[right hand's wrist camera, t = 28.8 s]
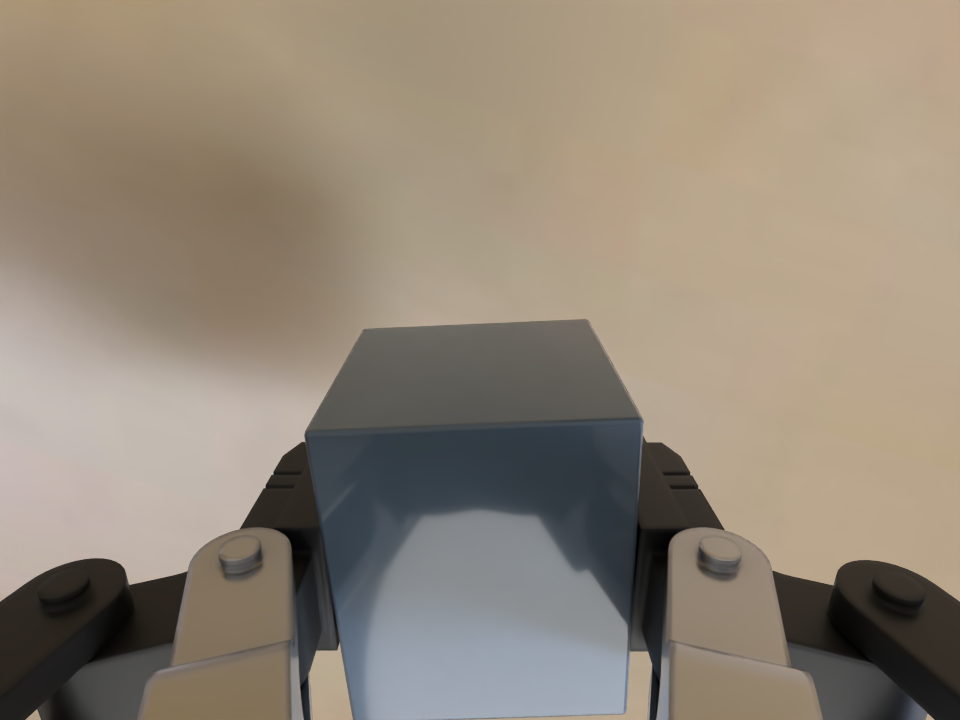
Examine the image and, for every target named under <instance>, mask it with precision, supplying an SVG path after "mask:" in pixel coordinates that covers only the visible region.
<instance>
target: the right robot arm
mask: <svg viewBox="0 0 960 720" xmlns="http://www.w3.org/2000/svg"><path fill="white" fill-rule="evenodd" d="M339 642H340V641H339V635H338V629H337V624H336V618H335V612H334V606H333V600H332V594H331V589H330V582H329V577H328V571H327V565H326V559H325V553H324V547H323V541H322V536H321V530H320V524H319V519H318V513H317V507H316V501H315V495H314V489H313V484H312V478H311V472H310V466H309V460H308V454H307V449H306V443H305V442H301V443H300V444H299V445H297V446H296V447H295V448H293V449H292V450H290V451H289V452H288V453H286V454H285V455H284V456H283V457H282V458H281V460H280V462H279V464H278V465H277V467H276V469H275V470H274V474H273V475H271V477H270V479H269V480H268V482H267V484H266V488H265V489H263V491H262V492H261V494H260V496H259V497H258V499H257V501H256V502H255V504H254V506H253V508H252V509H251V511H250V513H249V514H248V516H247V518H246V519H245V521H244V523H243V524H242V526H241V528H240V530H235V531H232V532H229V533H226V534H224V535H221V536H219V537H217V538H215V539H213V540H212V541H210V542H209V543H207V544H206V545H204V546H203V547H202V548H201V549H200V550H199V551H198V552H197V553H196V554H195V555H194V557H193V558H192V560H191V562H190V565H189V568H188V571H187V572H184V573H181V574H177V575H173V576H169V577H165V578H160V579H155V580H151V581H146V582H142V583H137V584H132V585H129V583H128V579H127V576H126V572H125V570H124V568H123V567H122V566H121V565H120V564H119V563H117V562H115V561H112V560H109V559H97V558H94V559H84V560H79V561H74V562H70V563H67V564H64V565H61V566H58V567H55V568H53V569H51V570H49V571H46V572H44V573H42V574H41V575H39V576H37V577H35V578H34V579H32V580H31V581H29V582H27V583H26V584H25V585H23V586H22V587H20V588H19V589H18V590H16V591H15V592H13V593H12V594H11V595H9V596H8V597H6V598H5V599H3V600H2V601H1V602H0V720H25V719H26V718H28V717H29V716H30V715H31V714H32V713H33V712H34V711H35V710H36V709H37V710H38V712H39V715H40V718H41V720H313V718H312V700H311V685H310V678H309V671H310V669H311V665H312V662H313V659H314V656H315V652H316V650H337V649H338V645H339ZM630 651H648V652H649V655H650V659H651V662H652V671H651V678H650V685H649V700H648V718H647V720H925V719H926V716H927V714H929V715H930V716H931V717H932V718H934V719H935V720H960V602H959V601H958V600H957V599H955V598H954V597H952V596H951V595H949V594H948V593H947V592H945V591H944V590H942V589H941V588H940V587H938V586H937V585H935V584H934V583H932V582H931V581H929V580H928V579H926V578H924V577H922V576H920V575H919V574H917V573H914V572H912V571H910V570H908V569H905V568H902V567H899V566H896V565H893V564H889V563H885V562H880V561H871V560H858V561H852V562H849V563H846V564H845V565H843V566H842V567H841V568H840V569H839V570H838V572H837V575H836V578H835V582H834V586H833V585H828V584H824V583H819V582H815V581H810V580H805V579H801V578H796V577H792V576H788V575H784V574H781V573H778V572H775V571H772V568H771V565H770V562H769V560H768V558H767V557H766V555H765V554H764V553H763V552H762V551H761V550H760V549H759V548H758V547H757V546H756V545H754V544H753V543H751V542H750V541H748V540H747V539H745V538H743V537H741V536H739V535H736V534H734V533H731V532H728V531H725V530H724V528H723V526H722V525H721V523H720V521H719V520H718V518H717V516H716V515H715V513H714V511H713V510H712V508H711V506H710V505H709V503H708V501H707V500H706V498H705V496H704V495H703V493H702V491H701V490H700V489H698V485H697V483H696V481H695V480H694V478H693V476H690V471H689V470H688V468H687V466H686V465H685V463H684V461H683V460H682V458H681V456H679V455H678V454H677V453H675V452H674V451H672V450H671V449H670V448H668V447H667V446H665V445H664V444H663V443H647V442H646V440H645V439H644V437H643V441H642V458H641V475H640V492H639V509H638V526H637V543H636V560H635V577H634V592H633V605H632V622H631V639H630Z"/></svg>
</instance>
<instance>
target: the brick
mask: <svg viewBox="0 0 960 720" xmlns="http://www.w3.org/2000/svg"><path fill="white" fill-rule="evenodd" d="M643 424H644V421H643V418H642V416H641V415H640V413H639V411H638V409H637V407H636V406H635V404H634V402H633V400H632V398H631V396H630V395H629V393H628V391H627V389H626V387H625V386H624V384H623V382H622V380H621V378H620V376H619V375H618V373H617V371H616V369H615V367H614V366H613V364H612V362H611V360H610V358H609V357H608V355H607V353H606V351H605V349H604V347H603V346H602V344H601V342H600V340H599V338H598V337H597V335H596V333H595V331H594V329H593V327H592V326H591V324H590V322H589V320H586V319H581V320H558V321H535V322H512V323H489V324H466V325H443V326H420V327H397V328H374V329H364V330H363V331H362V332H361V334H360V336H359V338H358V339H357V341H356V343H355V345H354V347H353V348H352V350H351V352H350V354H349V355H348V357H347V359H346V361H345V362H344V364H343V366H342V368H341V369H340V371H339V373H338V375H337V376H336V378H335V380H334V382H333V383H332V385H331V387H330V389H329V390H328V392H327V394H326V396H325V397H324V399H323V401H322V403H321V404H320V406H319V408H318V410H317V412H316V413H315V415H314V417H313V419H312V420H311V422H310V424H309V426H308V427H307V429H306V431H305V434H304V437H305V443H306V449H307V454H308V460H309V466H310V472H311V478H312V484H313V489H314V495H315V501H316V507H317V513H318V519H319V524H320V530H321V536H322V541H323V547H324V553H325V559H326V565H327V571H328V577H329V582H330V589H331V594H332V600H333V606H334V612H335V618H336V624H337V629H338V635H339V641H340V647H341V653H342V659H343V665H344V670H345V676H346V682H347V688H348V694H349V700H350V705H351V711H352V717H353V720H466V719H497V718H528V717H559V716H589V715H620V714H624V713H626V709H627V695H628V678H629V661H630V639H631V622H632V605H633V592H634V577H635V560H636V543H637V526H638V509H639V492H640V475H641V458H642V441H643Z"/></svg>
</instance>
